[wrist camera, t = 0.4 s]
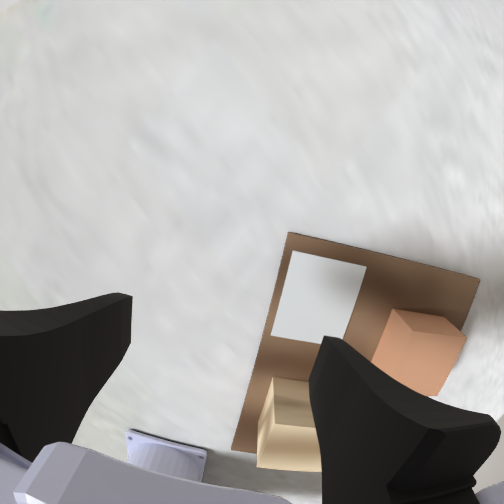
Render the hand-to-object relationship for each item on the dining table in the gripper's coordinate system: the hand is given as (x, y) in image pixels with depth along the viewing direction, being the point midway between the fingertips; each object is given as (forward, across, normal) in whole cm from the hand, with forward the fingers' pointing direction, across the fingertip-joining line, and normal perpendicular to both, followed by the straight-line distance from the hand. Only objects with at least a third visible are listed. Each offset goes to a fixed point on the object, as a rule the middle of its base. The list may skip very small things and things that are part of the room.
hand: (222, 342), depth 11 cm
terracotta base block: (+9, -13, +3) cm, 16 cm away
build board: (+9, -10, +7) cm, 16 cm away
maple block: (+9, -6, +10) cm, 15 cm away
